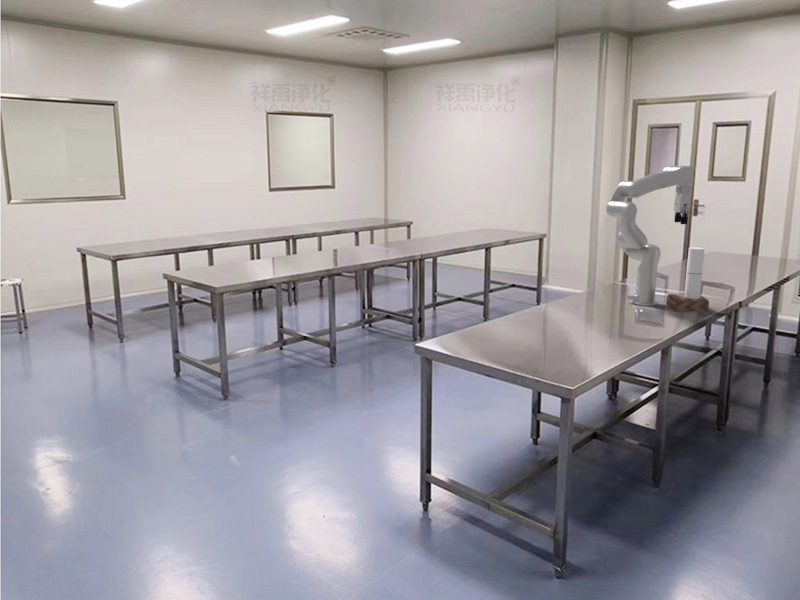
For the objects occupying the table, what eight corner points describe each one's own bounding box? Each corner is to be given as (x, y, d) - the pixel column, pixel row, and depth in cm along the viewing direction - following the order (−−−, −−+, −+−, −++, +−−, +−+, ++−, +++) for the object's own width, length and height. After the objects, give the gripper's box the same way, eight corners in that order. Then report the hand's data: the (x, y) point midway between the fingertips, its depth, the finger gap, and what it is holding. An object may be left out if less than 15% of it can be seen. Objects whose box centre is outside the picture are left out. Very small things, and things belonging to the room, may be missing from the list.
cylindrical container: (691, 299, 315) (695, 249, 310) (681, 296, 322) (685, 247, 317) (703, 298, 317) (707, 248, 312) (693, 295, 324) (697, 246, 318)
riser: (674, 311, 316) (675, 299, 315) (666, 304, 330) (667, 293, 328) (708, 311, 314) (709, 300, 313) (698, 305, 328) (699, 294, 327)
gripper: (670, 189, 337) (668, 221, 341) (681, 191, 320) (678, 224, 324) (685, 189, 336) (682, 221, 340) (696, 191, 320) (693, 224, 323)
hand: (680, 223), depth 332 cm, fingers open, 9 cm apart
